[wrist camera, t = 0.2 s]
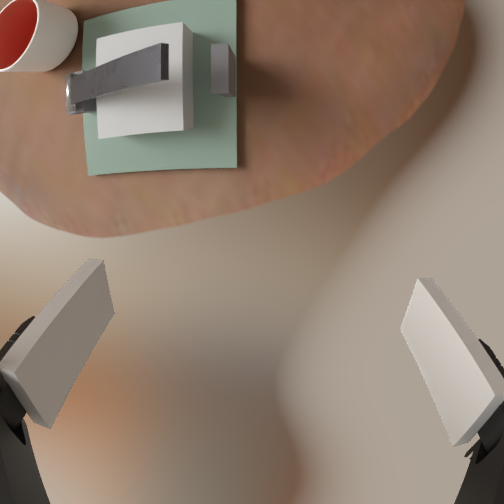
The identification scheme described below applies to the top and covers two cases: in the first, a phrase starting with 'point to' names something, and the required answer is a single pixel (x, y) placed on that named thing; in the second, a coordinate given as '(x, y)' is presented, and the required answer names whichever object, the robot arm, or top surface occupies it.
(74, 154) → the top surface
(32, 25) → the cup
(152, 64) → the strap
